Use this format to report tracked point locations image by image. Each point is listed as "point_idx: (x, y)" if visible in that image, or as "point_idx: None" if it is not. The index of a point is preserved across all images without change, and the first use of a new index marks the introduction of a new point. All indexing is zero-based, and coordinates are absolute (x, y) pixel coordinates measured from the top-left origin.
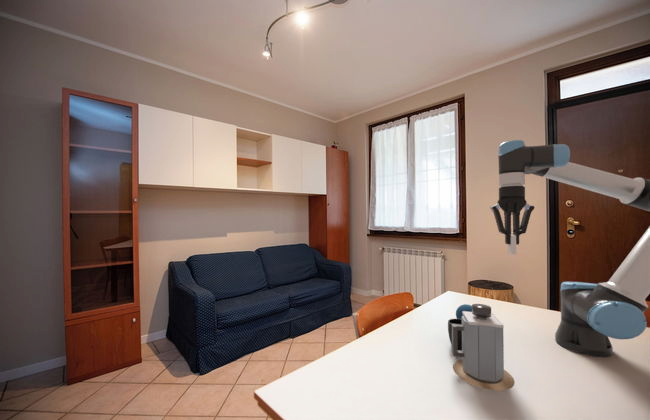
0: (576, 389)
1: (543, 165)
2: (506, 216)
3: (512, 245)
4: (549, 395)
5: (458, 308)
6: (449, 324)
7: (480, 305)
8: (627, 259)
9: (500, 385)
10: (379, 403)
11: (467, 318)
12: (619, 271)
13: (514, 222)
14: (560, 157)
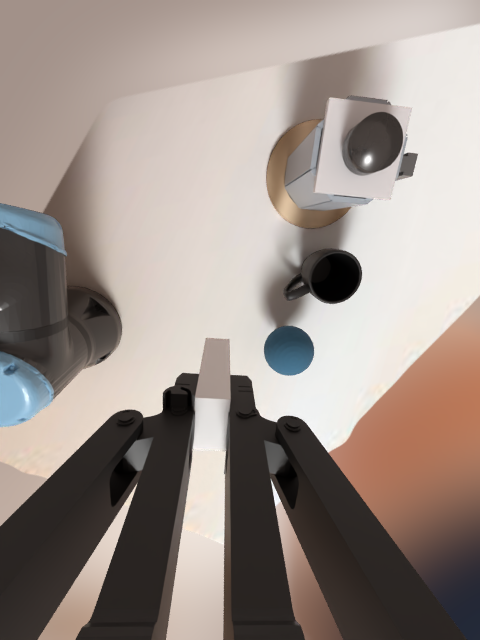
0: (173, 159)
1: None
2: (288, 612)
3: (222, 362)
4: (228, 130)
5: (312, 356)
6: (360, 270)
7: (375, 154)
8: None
9: (300, 138)
10: None
11: (403, 136)
12: None
13: (178, 525)
14: None
